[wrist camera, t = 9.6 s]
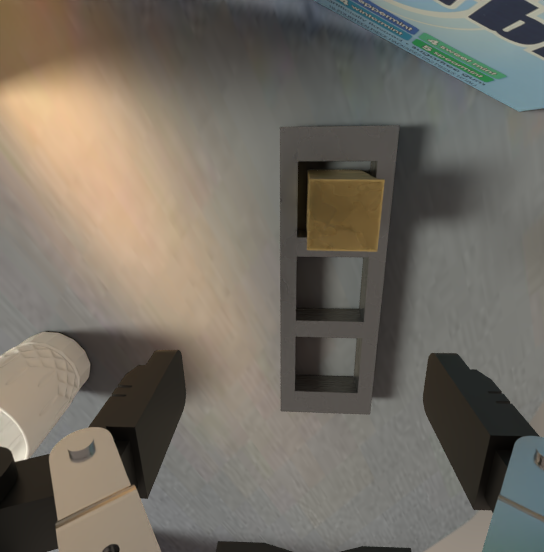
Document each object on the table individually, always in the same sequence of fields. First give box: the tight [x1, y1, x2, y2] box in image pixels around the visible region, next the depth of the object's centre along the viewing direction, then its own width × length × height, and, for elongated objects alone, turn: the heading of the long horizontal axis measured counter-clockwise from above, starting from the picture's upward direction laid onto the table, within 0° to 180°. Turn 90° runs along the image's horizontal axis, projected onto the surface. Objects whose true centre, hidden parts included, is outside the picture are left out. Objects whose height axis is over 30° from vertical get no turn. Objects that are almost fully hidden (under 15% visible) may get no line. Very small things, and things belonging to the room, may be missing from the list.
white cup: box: [0, 332, 90, 462], centre depth 32 cm, size 8×8×10 cm
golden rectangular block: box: [306, 170, 385, 252], centre depth 25 cm, size 4×4×8 cm
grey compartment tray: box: [280, 126, 399, 414], centre depth 30 cm, size 24×8×2 cm, turn 1°
